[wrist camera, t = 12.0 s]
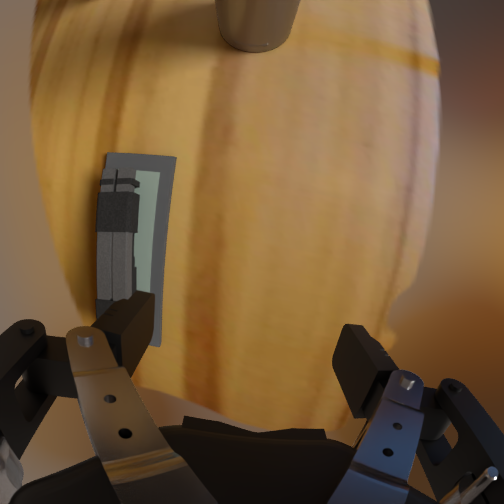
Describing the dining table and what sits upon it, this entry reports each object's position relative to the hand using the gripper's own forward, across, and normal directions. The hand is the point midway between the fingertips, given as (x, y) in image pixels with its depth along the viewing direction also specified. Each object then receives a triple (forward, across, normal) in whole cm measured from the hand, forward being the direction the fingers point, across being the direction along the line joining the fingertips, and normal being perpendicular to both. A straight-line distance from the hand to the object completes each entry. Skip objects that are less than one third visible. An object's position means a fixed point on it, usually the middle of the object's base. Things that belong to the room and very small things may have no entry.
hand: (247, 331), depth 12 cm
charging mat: (+24, +14, +5) cm, 28 cm away
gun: (+23, +14, +5) cm, 27 cm away
